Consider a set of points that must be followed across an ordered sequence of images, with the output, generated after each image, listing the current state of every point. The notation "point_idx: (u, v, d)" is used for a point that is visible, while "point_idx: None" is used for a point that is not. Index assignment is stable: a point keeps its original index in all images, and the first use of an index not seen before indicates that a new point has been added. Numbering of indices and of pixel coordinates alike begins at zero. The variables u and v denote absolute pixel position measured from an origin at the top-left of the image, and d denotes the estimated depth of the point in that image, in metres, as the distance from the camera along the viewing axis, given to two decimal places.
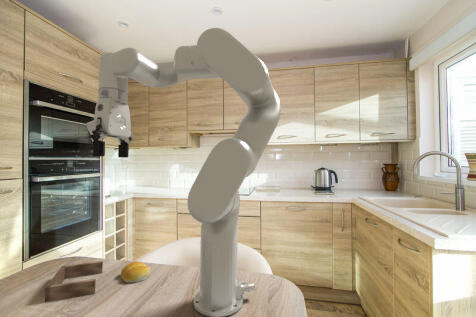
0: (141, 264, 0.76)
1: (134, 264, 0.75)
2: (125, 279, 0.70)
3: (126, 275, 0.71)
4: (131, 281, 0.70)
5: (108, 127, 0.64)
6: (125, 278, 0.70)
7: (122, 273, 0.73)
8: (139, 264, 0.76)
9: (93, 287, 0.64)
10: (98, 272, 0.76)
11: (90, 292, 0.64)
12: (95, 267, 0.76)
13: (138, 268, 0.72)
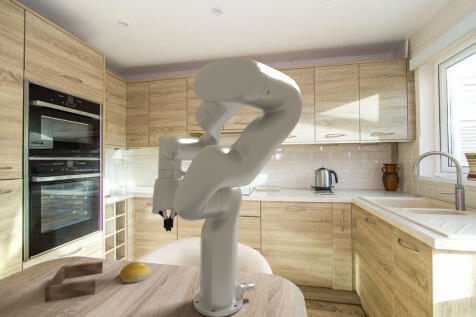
0: (140, 264, 0.76)
1: (133, 264, 0.75)
2: (124, 279, 0.70)
3: (125, 275, 0.71)
4: (130, 281, 0.70)
5: None
6: (124, 278, 0.70)
7: (121, 273, 0.73)
8: (139, 264, 0.76)
9: (93, 287, 0.64)
10: (98, 272, 0.76)
11: (90, 292, 0.64)
12: (95, 267, 0.76)
13: (137, 268, 0.72)
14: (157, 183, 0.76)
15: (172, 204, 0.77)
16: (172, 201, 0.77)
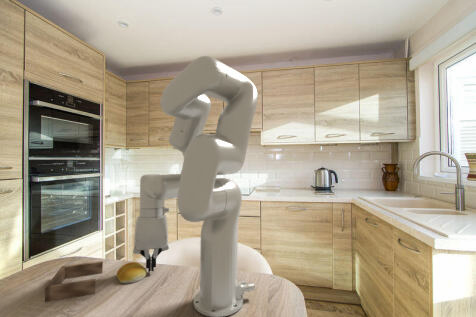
0: (137, 264, 0.76)
1: (130, 264, 0.75)
2: (121, 279, 0.70)
3: (122, 275, 0.70)
4: (127, 281, 0.70)
5: None
6: (121, 278, 0.70)
7: (118, 273, 0.72)
8: (136, 264, 0.75)
9: (93, 287, 0.64)
10: (98, 272, 0.76)
11: (90, 292, 0.64)
12: (95, 267, 0.76)
13: (134, 269, 0.72)
14: (138, 222, 0.74)
15: (154, 243, 0.75)
16: (154, 240, 0.75)
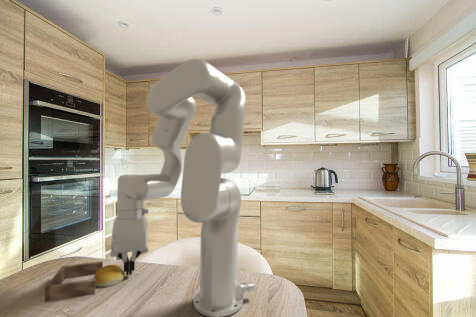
0: (116, 267, 0.74)
1: (108, 267, 0.73)
2: None
3: (96, 278, 0.68)
4: (100, 285, 0.68)
5: None
6: None
7: (95, 276, 0.71)
8: (114, 267, 0.73)
9: (93, 287, 0.64)
10: None
11: (90, 292, 0.64)
12: (95, 267, 0.76)
13: (109, 272, 0.70)
14: (115, 224, 0.71)
15: (132, 246, 0.72)
16: (132, 243, 0.72)
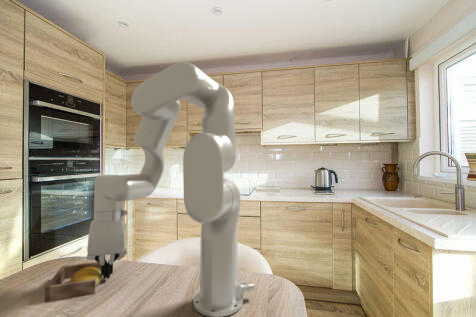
0: (94, 270, 0.71)
1: (85, 270, 0.71)
2: None
3: (70, 281, 0.66)
4: None
5: None
6: None
7: (71, 278, 0.69)
8: (91, 270, 0.71)
9: (93, 287, 0.64)
10: None
11: (90, 292, 0.64)
12: (95, 267, 0.76)
13: (84, 275, 0.68)
14: (91, 226, 0.69)
15: (109, 249, 0.70)
16: (109, 245, 0.70)
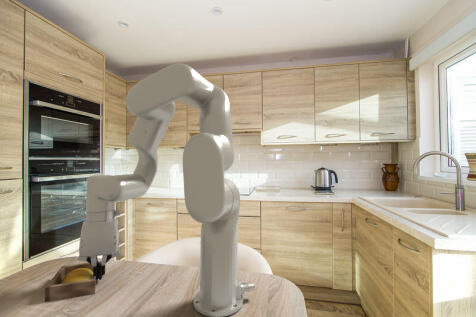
0: (86, 271, 0.71)
1: (77, 271, 0.70)
2: None
3: (61, 282, 0.66)
4: None
5: None
6: None
7: (63, 279, 0.69)
8: (84, 271, 0.70)
9: (93, 287, 0.64)
10: None
11: (90, 292, 0.64)
12: None
13: (75, 276, 0.67)
14: (83, 227, 0.68)
15: (101, 250, 0.69)
16: (101, 246, 0.69)
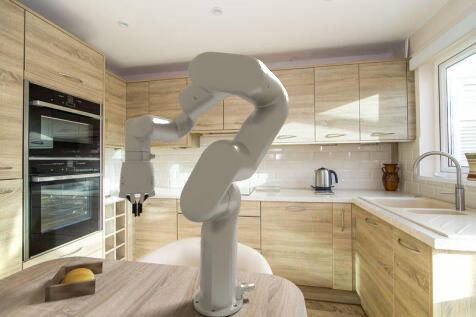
0: (85, 271, 0.71)
1: (76, 271, 0.70)
2: None
3: (61, 282, 0.66)
4: None
5: None
6: None
7: (62, 279, 0.68)
8: (83, 271, 0.70)
9: (93, 287, 0.64)
10: (98, 272, 0.76)
11: (90, 292, 0.64)
12: (95, 267, 0.76)
13: (74, 276, 0.67)
14: (123, 165, 0.72)
15: (140, 188, 0.74)
16: (140, 184, 0.74)
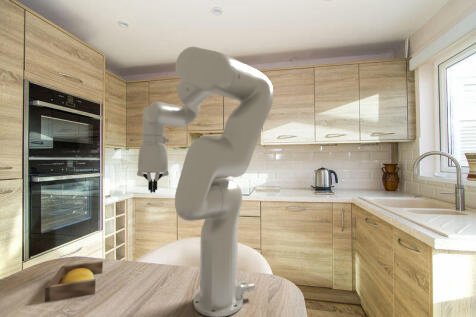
0: (85, 271, 0.71)
1: (76, 271, 0.70)
2: None
3: (60, 283, 0.66)
4: None
5: None
6: None
7: (62, 279, 0.68)
8: (82, 271, 0.70)
9: (93, 287, 0.64)
10: (98, 272, 0.76)
11: (90, 292, 0.64)
12: (95, 267, 0.76)
13: (74, 276, 0.67)
14: (141, 147, 0.83)
15: (155, 167, 0.84)
16: (155, 164, 0.84)
